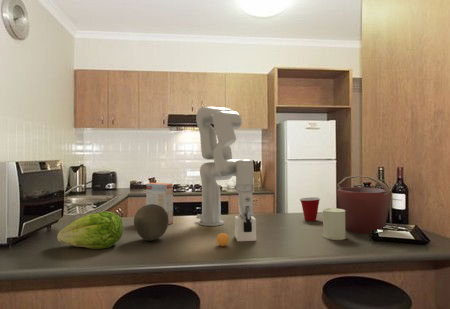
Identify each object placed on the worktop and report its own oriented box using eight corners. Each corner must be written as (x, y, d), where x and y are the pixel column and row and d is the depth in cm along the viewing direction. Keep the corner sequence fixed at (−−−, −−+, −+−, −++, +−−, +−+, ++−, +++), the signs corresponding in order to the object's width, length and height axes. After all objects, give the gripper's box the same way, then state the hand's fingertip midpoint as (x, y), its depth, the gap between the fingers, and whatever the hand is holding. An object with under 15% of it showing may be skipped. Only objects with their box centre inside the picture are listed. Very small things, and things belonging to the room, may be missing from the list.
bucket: (326, 225, 150) (326, 175, 150) (361, 222, 158) (361, 173, 158) (366, 238, 127) (365, 178, 127) (404, 233, 135) (403, 176, 135)
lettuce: (69, 224, 129) (50, 213, 116) (127, 215, 130) (114, 203, 117) (65, 259, 122) (45, 251, 109) (127, 249, 123) (113, 240, 110)
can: (329, 233, 137) (328, 206, 137) (349, 236, 130) (349, 208, 130) (318, 237, 130) (318, 208, 130) (339, 241, 124) (339, 211, 124)
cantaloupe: (132, 238, 130) (131, 203, 130) (165, 234, 136) (164, 201, 136) (136, 247, 117) (135, 208, 117) (172, 243, 123) (172, 205, 123)
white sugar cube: (237, 241, 125) (237, 219, 125) (234, 236, 132) (234, 216, 132) (256, 240, 125) (255, 219, 125) (252, 235, 133) (252, 215, 133)
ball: (214, 246, 117) (214, 233, 117) (220, 243, 122) (220, 231, 122) (225, 248, 115) (225, 235, 115) (231, 245, 119) (231, 232, 119)
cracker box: (173, 223, 158) (173, 183, 158) (165, 225, 153) (165, 184, 153) (154, 220, 166) (153, 182, 166) (145, 222, 161) (145, 183, 161)
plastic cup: (304, 217, 171) (303, 195, 171) (323, 219, 165) (323, 197, 165) (296, 220, 162) (296, 198, 162) (316, 223, 156) (316, 199, 156)
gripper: (258, 190, 121) (258, 233, 121) (249, 186, 138) (250, 224, 138) (239, 191, 120) (240, 234, 120) (233, 187, 137) (234, 225, 137)
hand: (245, 229), depth 129 cm, fingers open, 9 cm apart
